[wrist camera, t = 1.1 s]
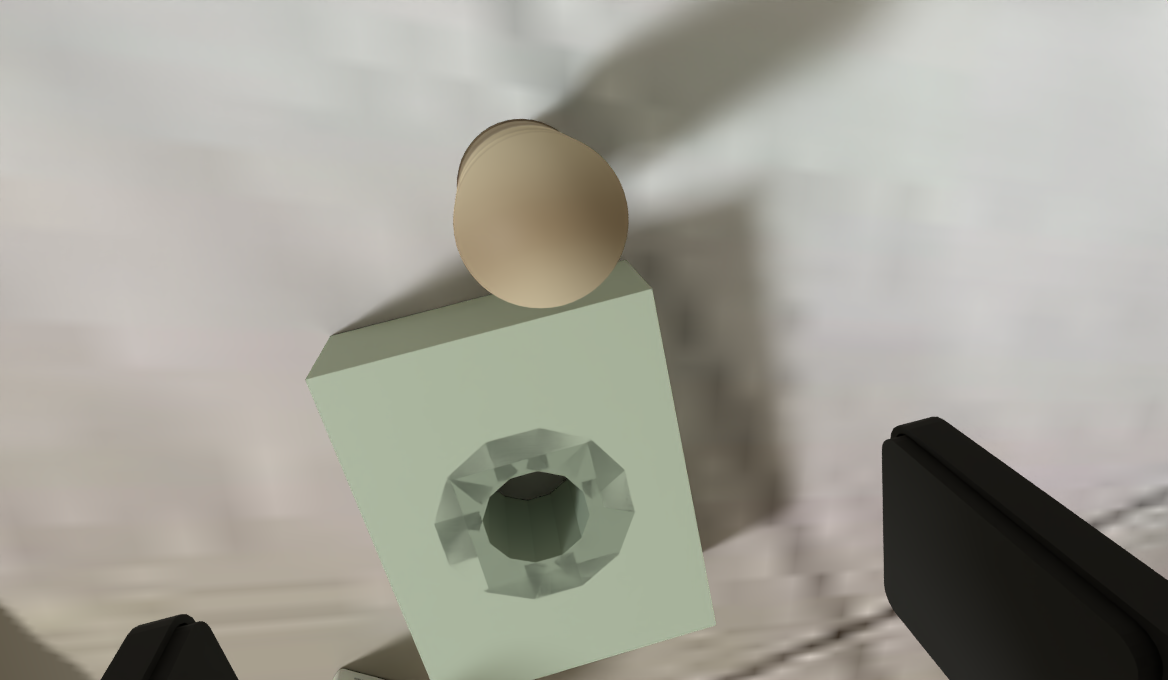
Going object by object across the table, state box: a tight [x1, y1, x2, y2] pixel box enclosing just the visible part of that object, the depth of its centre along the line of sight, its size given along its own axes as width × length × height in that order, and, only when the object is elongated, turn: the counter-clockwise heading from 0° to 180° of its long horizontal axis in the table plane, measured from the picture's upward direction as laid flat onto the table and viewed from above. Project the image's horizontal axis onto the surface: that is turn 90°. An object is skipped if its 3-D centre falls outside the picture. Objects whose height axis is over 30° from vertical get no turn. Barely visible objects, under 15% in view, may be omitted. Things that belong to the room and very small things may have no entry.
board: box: [305, 260, 716, 680], centre depth 32 cm, size 18×14×5 cm
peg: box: [453, 119, 628, 308], centre depth 24 cm, size 5×5×12 cm
